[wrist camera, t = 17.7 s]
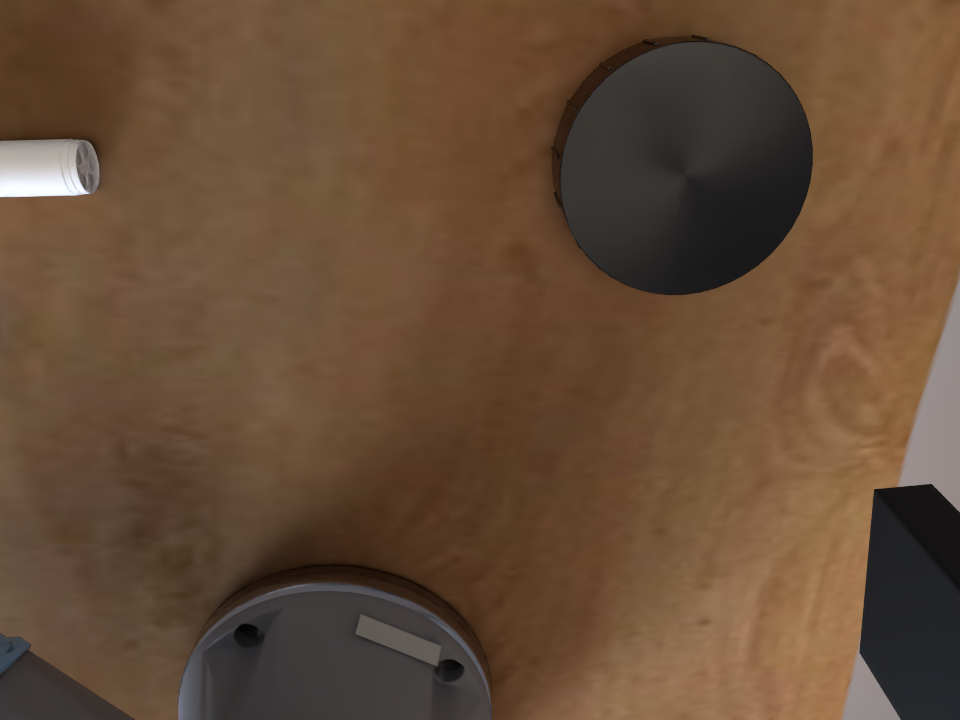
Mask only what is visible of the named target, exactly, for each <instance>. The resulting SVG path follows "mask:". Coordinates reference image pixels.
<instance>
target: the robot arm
mask: <svg viewBox="0 0 960 720" xmlns="http://www.w3.org/2000/svg"><path fill="white" fill-rule="evenodd" d="M30 646H31V644H30V643H28V642H27V641H25V640H24V639H22V638H21V637H14V636H13V637H6V636H5V635H3V634H1V633H0V720H135V719H133V718H132V717H130V716H129V715H127V714H126V713H124V712H122V711H121V710H119V709H118V708H116V707H115V706H113V705H112V704H110V703H109V702H107V701H106V700H104V699H103V698H101V697H99V696H98V695H96V694H95V693H93V692H92V691H90V690H89V689H87V688H86V687H84V686H83V685H81V684H80V683H78V682H77V681H75V680H73V679H72V678H70V677H69V676H67V675H66V674H64V673H63V672H61V671H60V670H58V669H57V668H55V667H54V666H52V665H50V664H49V663H47V662H46V661H44V660H43V659H41V658H40V657H38V656H37V655H35V654H34V653H32V652H31V651H29V650H28V649H29V648H30ZM860 654H861V656H862V657H863V659H864V661H865V662H866V664H867V665H868V667H869V669H870V670H871V672H872V673H873V675H874V677H875V678H876V680H877V682H878V683H879V685H880V686H881V688H882V690H883V691H884V693H885V695H886V696H887V698H888V699H889V701H890V702H891V704H892V706H893V708H894V709H895V711H896V712H897V714H898V715H899V717H900V719H901V720H960V512H959V511H958V510H956V508H955V507H954V506H953V505H952V504H951V503H950V502H949V501H948V500H947V499H946V498H945V497H944V496H943V495H942V494H941V493H940V492H939V491H938V490H937V489H936V488H935V487H934V486H933V485H932V484H927V485H917V486H905V487H894V488H884V489H874V497H873V508H872V519H871V530H870V541H869V553H868V564H867V575H866V586H865V597H864V608H863V619H862V630H861V641H860ZM178 709H179V720H492V708H491V680H490V673H489V668H488V664H487V661H486V657H485V655H484V653H483V650H482V648H481V646H480V644H479V642H478V640H477V639H476V637H475V635H474V634H473V632H472V631H471V630H470V628H469V627H468V625H467V624H466V623H465V622H464V621H463V620H462V619H461V617H460V616H459V615H458V614H457V613H456V612H454V611H453V610H452V609H451V608H450V607H449V606H448V605H447V604H445V603H444V602H443V601H441V600H440V599H439V598H437V597H436V596H434V595H433V594H431V593H429V592H428V591H426V590H424V589H423V588H421V587H419V586H417V585H415V584H413V583H410V582H408V581H406V580H403V579H401V578H398V577H395V576H392V575H389V574H386V573H382V572H378V571H373V570H369V569H363V568H356V567H344V566H318V567H309V568H301V569H296V570H291V571H287V572H283V573H280V574H276V575H273V576H270V577H268V578H265V579H263V580H260V581H258V582H256V583H254V584H252V585H250V586H248V587H246V588H245V589H243V590H241V591H240V592H238V593H237V594H235V595H234V596H233V597H231V598H230V599H229V600H227V601H226V602H225V603H224V604H223V605H222V606H221V607H220V608H219V609H218V610H217V611H216V612H215V613H214V614H213V615H212V616H211V618H210V619H209V620H208V621H207V623H206V624H205V626H204V627H203V629H202V631H201V632H200V634H199V636H198V639H197V641H196V643H195V645H194V647H193V650H192V652H191V654H190V657H189V659H188V662H187V664H186V666H185V669H184V672H183V675H182V678H181V682H180V687H179V696H178Z"/></svg>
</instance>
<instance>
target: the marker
mask: <svg viewBox="0 0 960 720" xmlns="http://www.w3.org/2000/svg"><path fill="white" fill-rule="evenodd" d="M98 184H99V163H98V159H97V155H96V152H95V150H94V148H93V146H92V145H91V144H90V143H89V142H88V141H86V140H73V139H53V140H15V141H0V197H25V196H64V195H80V194H90V193H94V192H95V191H96V189H97V187H98Z"/></svg>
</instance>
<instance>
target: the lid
mask: <svg viewBox="0 0 960 720" xmlns="http://www.w3.org/2000/svg"><path fill="white" fill-rule="evenodd" d="M643 41H644V42H643V43H639V44H636V45H634V46H632V47H629V48H627V49H625V50H623V51H621V52H619V53H618V54H616V55H614V56H613V57H611V58H609V59H608V60H607V61H605V62H604V63H602V62H601V63H600V64H599V65H600V66H599V67H598V68H597V69H595V70H594V71H593V72H592V73H591V74H590V75H589V76H588V77H587V78H586V80H585V81H584V82H583V83H582V84H581V85H580V87H579V88H578V89H577V91H576V92H575V93H574V95H573V96H572V98H571V100H570V101H569V100H568V101H567V103H568V105H567V107H566V109H565V111H564V113H563V116H562V118H561V120H560V123H559V126H558V129H557V133H556V136H555V141H554V146H552V148H551V149H552V151H553V154H552V173H553V182H554V188H555V192H554V196H555V198H556V201H557V203H558V205H559V207H561V209H562V212H563V214H564V217H565V219H566V221H567V224H568V226H569V229H570V231H571V233H572V235H573V236H574V238H575V240H576V242H577V245H578V247H579V248H581V249H582V250H583V252H584V253H585V254H586V256H587V257H588V258H589V259H590V260H591V261H592V262H593V263H594V264H595V265H596V266H597V267H598V268H599V269H601V270H602V271H603V272H605V273H606V274H607V275H609V276H610V277H612V278H614V279H615V280H617V281H619V282H621V283H623V284H625V285H627V286H630V287H632V288H635V289H638V290H641V291H645V292H650V293H654V294H664V295H686V294H693V293H700V292H704V291H707V290H711V289H715V288H718V287H720V286H723V285H725V284H728V283H730V282H732V281H734V280H736V279H738V278H739V277H741V276H743V275H745V274H746V273H748V272H749V271H751V270H752V269H754V268H755V267H756V266H758V265H759V264H760V263H761V262H762V261H764V260H765V259H766V258H767V257H768V256H769V255H770V254H771V253H772V252H773V251H774V250H775V249H776V248H777V247H778V246H779V244H780V243H781V242H782V241H783V240H784V238H785V237H786V235H787V234H788V232H789V231H790V230H791V228H792V227H793V225H794V223H795V221H796V219H797V217H798V215H799V214H800V211H801V209H802V206H803V204H804V201H805V199H806V196H807V192H808V188H809V184H810V180H811V172H812V165H813V147H812V140H811V132H810V128H809V125H808V121H807V117H806V114H805V112H804V110H803V107H802V105H801V103H800V101H799V99H798V97H797V96H796V94H795V93H794V91H793V89H792V88H791V86H790V85H789V84H788V83H787V81H786V80H785V79H784V78H783V77H782V76H781V74H780V73H778V72H777V71H776V70H775V69H774V68H773V67H772V66H770V65H769V64H768V63H767V62H765V61H764V60H762V59H760V58H759V57H757V56H756V55H755V54H752V53H750V52H747V51H745V50H743V49H741V48H738V47H735V46H731V45H728V44H724V43H720V42H715V41H710V40H709V38H706V37H701V36H695V35H692V38H691V37H665V38H659V39H653V40H647V39H645V40H643Z"/></svg>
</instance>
